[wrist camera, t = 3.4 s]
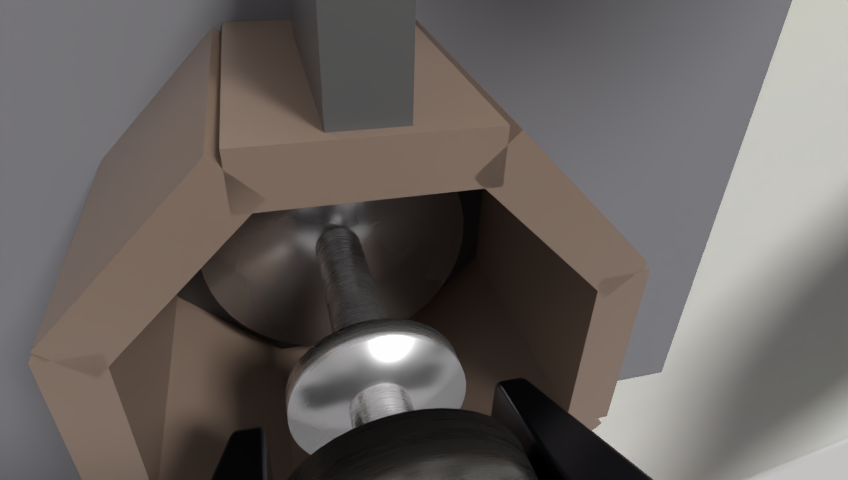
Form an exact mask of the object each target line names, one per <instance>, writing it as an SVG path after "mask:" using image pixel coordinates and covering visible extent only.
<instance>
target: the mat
mask: <svg viewBox="0 0 848 480" xmlns="http://www.w3.org/2000/svg"><path fill="white" fill-rule="evenodd" d="M791 2H792V0H416V17H415V20H417V21H418V22H419V23H420V24H421V25H422V26H423V27H424V28H425V29H426V30H427V31H428V32H429V33H430V34H431V35H432V36H433V37H434V39H435V40H436V41H437V42H438V43H439V44H440V45H441V46H442V47H443V48H444V49H445V50H446V51H447V52H448V53H449V54H450V55H451V56H452V57H453V58H454V59H455V60H456V61H457V62H458V63H459V64H460V65H461V66H462V67H463V68H464V70H465V71H466V72H467V73H468V74H469V75H470V76H471V77H472V78H473V79H474V80H475V81H476V82H477V83H478V84H479V85H480V86H481V87H482V88H483V89H484V90H485V91H486V92H487V93H488V94H489V95H490V96H491V97H492V98H493V99H494V100H495V102H496V103H497V104H498V105H499V106H500V107H501V108H502V109H503V110H504V111H505V112H506V113H507V114H508V115H509V116H510V117H511V118H512V119H513V120H514V121H515V122H516V123H517V124H518V125H519V126H520V127H521V128H522V129H523V130H524V132H525V133H526V134H527V135H528V136H529V137H530V138H531V139H532V140H533V141H534V142H535V143H536V144H537V145H538V146H539V147H540V148H541V150H542V151H543V152H544V153H545V154H546V155H547V156H548V157H549V158H550V159H551V160H552V161H553V162H554V163H555V164H556V165H557V166H558V168H559V169H560V170H561V171H562V172H563V173H564V174H565V175H566V176H567V177H568V178H569V179H570V180H571V181H572V182H573V183H574V184H575V185H576V187H577V188H578V189H579V190H580V191H581V192H582V193H583V194H584V195H585V196H586V197H587V198H588V199H589V200H590V201H591V202H592V203H593V205H594V206H595V207H596V208H597V209H598V210H599V211H600V212H601V213H602V214H603V215H604V216H605V217H606V218H607V219H608V220H609V221H610V223H611V224H612V225H613V226H614V227H615V228H616V229H617V230H618V231H619V232H620V233H621V234H622V235H623V236H624V237H625V238H626V239H627V241H628V242H629V243H630V244H631V245H632V246H633V247H634V248H635V249H636V250H637V251H638V252H639V253H640V254H641V255H642V256H643V257H644V259H645V260H646V261H647V262H648V263H647V264H646V265H645V267H646V268H647V269H648V270H649V271H650V272H649V275H648V279H647V282H646V286H645V289H644V292H643V296H642V299H641V302H640V306H639V309H638V312H637V316H636V319H635V322H634V326H633V329H632V332H631V336H630V339H629V343H628V346H627V349H626V353H625V356H624V359H623V363H622V366H621V369H620V373H619V376H618V379H617V381H618V380H623V379H628V378H634V377H639V376H644V375H649V374H654V373H659V372H661V371H662V368H663V366H664V363H665V360H666V357H667V354H668V351H669V349H670V346H671V343H672V340H673V337H674V334H675V332H676V329H677V326H678V323H679V320H680V317H681V314H682V312H683V309H684V306H685V303H686V300H687V297H688V295H689V292H690V289H691V286H692V283H693V280H694V278H695V275H696V272H697V269H698V266H699V263H700V260H701V258H702V255H703V252H704V249H705V246H706V243H707V241H708V238H709V235H710V232H711V229H712V226H713V224H714V221H715V218H716V215H717V212H718V209H719V206H720V204H721V201H722V198H723V195H724V192H725V189H726V187H727V184H728V181H729V178H730V175H731V172H732V170H733V167H734V164H735V161H736V158H737V155H738V153H739V150H740V147H741V144H742V141H743V138H744V135H745V133H746V130H747V127H748V124H749V121H750V118H751V116H752V113H753V110H754V107H755V104H756V101H757V99H758V96H759V93H760V90H761V87H762V84H763V81H764V79H765V76H766V73H767V70H768V67H769V64H770V62H771V59H772V56H773V53H774V50H775V47H776V45H777V42H778V39H779V36H780V33H781V30H782V27H783V25H784V22H785V19H786V16H787V13H788V10H789V8H790V5H791ZM269 20H291V9H290V0H0V480H82V479H81V477H80V475H79V473H78V471H77V468H76V466H75V464H74V462H73V460H72V458H71V455H70V453H69V451H68V449H67V447H66V445H65V443H64V440H63V438H62V436H61V434H60V432H59V430H58V428H57V425H56V423H55V421H54V419H53V417H52V415H51V412H50V410H49V408H48V406H47V404H46V402H45V400H44V397H43V395H42V393H41V391H40V389H39V387H38V384H37V382H36V380H35V378H34V376H33V374H32V372H31V369H30V367H29V365H28V363H29V360H30V358H31V355H32V353H30V352H31V349H32V346H33V343H34V341H35V338H36V335H37V333H38V330H39V327H40V325H41V322H42V319H43V317H44V314H45V311H46V308H47V306H48V303H49V300H50V298H51V295H52V292H53V290H54V287H55V284H56V281H57V279H58V276H59V273H60V271H61V268H62V265H63V263H64V260H65V257H66V254H67V252H68V249H69V246H70V244H71V241H72V238H73V236H74V233H75V230H76V227H77V225H78V222H79V219H80V217H81V214H82V211H83V209H84V206H85V203H86V200H87V198H88V195H89V192H90V190H91V187H92V184H93V182H94V179H95V176H96V173H97V171H98V168H99V165H100V163H101V160H102V159H103V158H104V157H105V155H106V154H107V153H108V152H109V151H110V149H111V148H112V147H113V146H114V145H115V143H116V142H117V141H118V140H119V138H120V137H121V136H122V135H123V134H124V132H125V131H126V130H127V129H128V128H129V126H130V125H131V124H132V123H133V122H134V120H135V119H136V118H137V117H138V116H139V114H140V113H141V112H142V111H143V110H144V108H145V107H146V106H147V105H148V104H149V102H150V101H151V100H152V99H153V98H154V96H155V95H156V94H157V93H158V92H159V90H160V89H161V88H162V87H163V85H164V84H165V83H166V82H167V81H168V79H169V78H170V77H171V76H172V75H173V73H174V72H175V71H176V70H177V69H178V67H179V66H180V65H181V64H182V63H183V61H184V60H185V59H186V58H187V57H188V55H189V54H190V53H191V52H192V51H193V49H194V48H195V47H196V46H197V45H198V43H199V42H200V41H201V40H202V39H203V37H204V36H205V35H206V34H207V32H208V31H209V30H210V29H211V28H212V27H213V28H214V29H216V30H217V31H218V32H219V33H220V34H222V22H240V21H269Z"/></svg>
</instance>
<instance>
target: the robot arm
mask: <svg viewBox="0 0 848 480" xmlns="http://www.w3.org/2000/svg"><path fill="white" fill-rule="evenodd" d="M491 417H493V418H495V419H497V420H499V421H500V422H502V423H503V424H505V425H506V426H508V427H509V428H510V429H511V430H512V431H513V432H514V433H515V434H516V436H517V437H518V439H519V441H520V442H521V444H522V446H523V448H524V450H525V453H526V455H527V457H528V459H529V461H530V463H531V465H532V467H533V469H534V471H535V474H536V476H537V478H538V480H653V479H652V478H650V477H649V476H648V475H647V474H645V473H644V472H643V471H642V470H640V469H639V468H638V467H637V466H635V465H634V464H633V463H631V462H630V461H629V460H628V459H626V458H625V457H624V456H623V455H621V454H620V453H619V452H618V451H616V450H615V449H614V448H613V447H611V446H610V445H609V444H608V443H606V442H605V441H604V440H602V439H601V438H600V437H599V436H597V435H596V434H595V433H594V432H592V431H591V430H590V429H589V428H587V427H586V426H585V425H584V424H582V423H581V422H580V421H579V420H577V419H576V418H575V417H573V416H572V415H571V414H570V413H568V412H567V411H566V410H565V409H563V408H562V407H561V406H560V405H558V404H557V403H556V402H555V401H553V400H552V399H551V398H550V397H548V396H547V395H546V394H544V393H543V392H542V391H541V390H539V389H538V388H537V387H536V386H534V385H533V384H532V383H531V382H529V381H528V380H526V379H524V378H515V379H509V380H504V381H500V382H498V383H497V384H496V386H495V389H494V397H493V404H492V411H491ZM210 480H273V472H272V465H271V459H270V454H269V448H268V442H267V437H266V432H265V429H264V428H263V427H261V426H256V427H251V428H245V429H240V430H236V431H234V432H233V433H232V434H231V435H230V437H229V439H228V441H227V443H226V445H225V448H224V450H223V452H222V454H221V457H220V459H219V461H218V463H217V466H216V468H215V470H214V472H213V475H212V477H211V479H210Z"/></svg>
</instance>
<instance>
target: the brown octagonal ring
mask: <svg viewBox="0 0 848 480" xmlns="http://www.w3.org/2000/svg"><path fill="white" fill-rule="evenodd" d="M290 9H291V20H269V21H240V22H222V34H220V33H219V32H218V31H217V30H216V29H214V28H213V27H212V28H211V29H210V30H209V31H208V32H207V34H206V35H205V36H204V37H203V39H202V40H201V41H200V42H199V43H198V45H197V46H196V47H195V48H194V49H193V51H192V52H191V53H190V54H189V55H188V57H187V58H186V59H185V60H184V61H183V63H182V64H181V65H180V66H179V67H178V69H177V70H176V71H175V72H174V73H173V75H172V76H171V77H170V78H169V79H168V81H167V82H166V83H165V84H164V85H163V87H162V88H161V89H160V90H159V92H158V93H157V94H156V95H155V96H154V98H153V99H152V100H151V101H150V102H149V104H148V105H147V106H146V107H145V108H144V110H143V111H142V112H141V113H140V114H139V116H138V117H137V118H136V119H135V120H134V122H133V123H132V124H131V125H130V126H129V128H128V129H127V130H126V131H125V132H124V134H123V135H122V136H121V137H120V138H119V140H118V141H117V142H116V143H115V145H114V146H113V147H112V148H111V149H110V151H109V152H108V153H107V154H106V155H105V157H104V158H103V159H102V160H101V163H100V165H99V168H98V171H97V173H96V176H95V179H94V182H93V184H92V187H91V190H90V192H89V195H88V198H87V200H86V203H85V206H84V209H83V211H82V214H81V217H80V219H79V222H78V225H77V227H76V230H75V233H74V236H73V238H72V241H71V244H70V246H69V249H68V252H67V254H66V257H65V260H64V263H63V265H62V268H61V271H60V273H59V276H58V279H57V281H56V284H55V287H54V290H53V292H52V295H51V298H50V300H49V303H48V306H47V308H46V311H45V314H44V317H43V319H42V322H41V325H40V327H39V330H38V333H37V335H36V338H35V341H34V343H33V346H32V349H31V352H30V353H32V355H31V358H30V360H29V363H28V365H29V367H30V369H31V372H32V374H33V376H34V378H35V380H36V382H37V384H38V387H39V389H40V391H41V393H42V395H43V397H44V400H45V402H46V404H47V406H48V408H49V410H50V412H51V415H52V417H53V419H54V421H55V423H56V425H57V428H58V430H59V432H60V434H61V436H62V438H63V440H64V443H65V445H66V447H67V449H68V451H69V453H70V455H71V458H72V460H73V462H74V464H75V466H76V468H77V471H78V473H79V475H80V477H81V479H82V480H210V479H211V477H212V475H213V472H214V470H215V468H216V466H217V463H218V461H219V459H220V457H221V454H222V452H223V450H224V448H225V445H226V443H227V441H228V439H229V437H230V435H231V434H232V433H233V432H234V431H236V430H240V429H245V428H251V427H256V426H261V427H263V428H264V429H265V432H266V437H267V442H268V448H269V454H270V459H271V465H272V472H273V480H287V479H288V478H289V476H290V475H291V474H292V472H293V471H294V470H295V469H296V468H297V467H298V466H299V465H300V464H301V463H302V462H303V461H304V460H305V459H306V458H308V457H309V456H310V455H311V454H309V453H308V452H306V451H305V450H304V449H302V448H301V447H300V446H299V445H298V444H297V442H296V441H295V440H294V438H293V436H292V434H291V432H290V429H289V425H288V418H287V408H286V395H285V392H286V386H287V382H288V379H289V376H290V374H291V372H292V370H293V368H294V366H295V365H296V364H297V362H298V361H299V359H300V358H301V357H302V356H303V355H304V354H305V353H306V352H307V351H308V350H309V349H310V348H311V347H312V346H308V345H297V344H292V343H287V342H282V341H278V340H275V339H272V338H269V337H266V336H264V335H262V334H259V333H257V332H255V331H253V330H251V329H249V328H248V327H246V326H244V325H243V324H241V323H240V322H238V321H237V320H236V319H235V318H233V317H232V316H231V315H230V314H229V313H228V312H227V311H226V310H225V309H224V308H223V307H222V306H221V305H220V304H219V303H218V301H217V300H216V299H215V297H214V296H213V294H212V293H211V291H210V289H209V287H208V285H207V283H206V281H205V279H204V276H203V273H202V270H201V268H202V267H203V266H204V265H205V263H206V262H207V261H208V260H209V259H210V258H211V257H212V256H213V255H214V254H215V253H216V252H217V251H218V250H219V249H220V247H221V246H222V245H223V244H224V243H225V242H226V241H227V240H228V239H229V238H230V237H231V236H232V235H233V234H234V233H235V231H236V230H237V229H238V228H239V227H240V226H241V225H242V224H243V223H244V222H245V221H246V220H247V219H248V218H249V217H250V216H251V214H252V213H260V212H269V211H279V210H288V209H298V208H307V207H316V206H326V205H335V204H345V203H354V202H363V201H373V200H382V199H392V198H401V197H410V196H420V195H429V194H439V193H448V192H458V195H459V198H460V202H461V205H462V212H463V237H462V244H461V248H460V251H459V255H458V258H457V260H456V263H455V265H454V267H453V269H452V272H451V273H450V275H449V277H448V278H447V280H446V281H445V283H444V284H443V286H442V287H441V288H440V290H439V291H438V292H437V293H436V295H435V296H434V297H433V298H432V299H431V300H430V301H429V302H428V303H427V304H426V305H425V306H424V307H423V308H421V309H420V310H419V311H418V312H416V313H415V314H414V315H413V316H411V317H410V318H408V319H409V320H413V321H418V322H421V323H423V324H426V325H429V326H430V327H432V328H434V329H436V330H437V331H439V332H440V333H441V334H443V335H444V336H445V337H446V338H447V339H448V340H449V342H450V343H451V345H452V346H453V348H454V350H455V353H456V355H457V357H458V360H459V362H460V364H461V367H462V369H463V372H464V374H465V379H466V392H465V397H464V400H463V403H462V406H461V408H460V409H464V410H470V411H475V412H478V413H482V414H485V415H488V416H490V417H491V411H492V404H493V397H494V389H495V386H496V384H497V383H498V382H500V381H504V380H509V379H515V378H524V379H526V380H528V381H529V382H531V383H532V384H533V385H534V386H536V387H537V388H538V389H539V390H541V391H542V392H543V393H544V394H546V395H547V396H548V397H550V398H551V399H552V400H553V401H555V402H556V403H557V404H558V405H560V406H561V407H562V408H563V409H565V410H566V411H567V412H568V413H570V414H571V415H572V416H573V417H575V418H576V419H577V420H579V421H580V422H581V423H582V424H584V425H585V426H586V427H587V428H589V429H590V430H591V431H592V430H593V429H594V428H596V427H597V426H598V425H599V424H601V422H600V420H599V419H598V418H600V417H605V416H607V413H608V410H609V406H610V403H611V400H612V396H613V393H614V390H615V386H616V383H617V379H618V376H619V373H620V369H621V366H622V363H623V359H624V356H625V353H626V349H627V346H628V343H629V339H630V336H631V332H632V329H633V326H634V322H635V319H636V316H637V312H638V309H639V306H640V302H641V299H642V296H643V292H644V289H645V286H646V282H647V279H648V275H649V272H650V271H649V270H648V269H647V268H646V267H645V265H646V264H647V263H648V262H647V261H646V260H645V259H644V257H643V256H642V255H641V254H640V253H639V252H638V251H637V250H636V249H635V248H634V247H633V246H632V245H631V244H630V243H629V242H628V241H627V239H626V238H625V237H624V236H623V235H622V234H621V233H620V232H619V231H618V230H617V229H616V228H615V227H614V226H613V225H612V224H611V223H610V221H609V220H608V219H607V218H606V217H605V216H604V215H603V214H602V213H601V212H600V211H599V210H598V209H597V208H596V207H595V206H594V205H593V203H592V202H591V201H590V200H589V199H588V198H587V197H586V196H585V195H584V194H583V193H582V192H581V191H580V190H579V189H578V188H577V187H576V185H575V184H574V183H573V182H572V181H571V180H570V179H569V178H568V177H567V176H566V175H565V174H564V173H563V172H562V171H561V170H560V169H559V168H558V166H557V165H556V164H555V163H554V162H553V161H552V160H551V159H550V158H549V157H548V156H547V155H546V154H545V153H544V152H543V151H542V150H541V148H540V147H539V146H538V145H537V144H536V143H535V142H534V141H533V140H532V139H531V138H530V137H529V136H528V135H527V134H526V133H525V132H524V130H523V129H522V128H521V127H520V126H519V125H518V124H517V123H516V122H515V121H514V120H513V119H512V118H511V117H510V116H509V115H508V114H507V113H506V112H505V111H504V110H503V109H502V108H501V107H500V106H499V105H498V104H497V103H496V102H495V100H494V99H493V98H492V97H491V96H490V95H489V94H488V93H487V92H486V91H485V90H484V89H483V88H482V87H481V86H480V85H479V84H478V83H477V82H476V81H475V80H474V79H473V78H472V77H471V76H470V75H469V74H468V73H467V72H466V71H465V70H464V68H463V67H462V66H461V65H460V64H459V63H458V62H457V61H456V60H455V59H454V58H453V57H452V56H451V55H450V54H449V53H448V52H447V51H446V50H445V49H444V48H443V47H442V46H441V45H440V44H439V43H438V42H437V41H436V40H435V39H434V37H433V36H432V35H431V34H430V33H429V32H428V31H427V30H426V29H425V28H424V27H423V26H422V25H421V24H420V23H419V22H418V21H417V20H415V17H416V0H290Z"/></svg>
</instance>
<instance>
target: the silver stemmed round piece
mask: <svg viewBox="0 0 848 480" xmlns="http://www.w3.org/2000/svg"><path fill="white" fill-rule="evenodd" d="M462 237H463V212H462V205H461V202H460V198H459V195H458V192H448V193H439V194H429V195H420V196H410V197H401V198H392V199H382V200H373V201H363V202H354V203H345V204H335V205H326V206H316V207H307V208H298V209H288V210H279V211H269V212H260V213H252V214H251V216H250V217H249V218H248V219H247V220H246V221H245V222H244V223H243V224H242V225H241V226H240V227H239V228H238V229H237V230H236V231H235V233H234V234H233V235H232V236H231V237H230V238H229V239H228V240H227V241H226V242H225V243H224V244H223V245H222V246H221V247H220V249H219V250H218V251H217V252H216V253H215V254H214V255H213V256H212V257H211V258H210V259H209V260H208V261H207V262H206V263H205V265H204V266H203V267H202V268H201V270H202V273H203V276H204V279H205V281H206V283H207V285H208V287H209V289H210V291H211V293H212V294H213V296H214V297H215V299H216V300H217V301H218V303H219V304H220V305H221V306H222V307H223V308H224V309H225V310H226V311H227V312H228V313H229V314H230V315H231V316H232V317H233V318H235V319H236V320H237V321H238V322H240V323H241V324H243V325H244V326H246V327H248V328H249V329H251V330H253V331H255V332H257V333H259V334H262V335H264V336H266V337H269V338H272V339H275V340H278V341H282V342H287V343H292V344H297V345H308V346H312V347H311V348H310V349H309V350H308V351H307V352H306V353H305V354H304V355H303V356H302V357H301V358H300V359H299V361H298V362H297V364H296V365H295V366H294V368H293V370H292V372H291V374H290V376H289V379H288V382H287V386H286V392H285V395H286V408H287V418H288V425H289V429H290V432H291V434H292V436H293V438H294V440H295V441H296V442H297V444H298V445H299V446H300V447H301V448H302V449H304V450H305V451H306V452H308V453H309V454H311V455H310V456H309V457H308V458H306V459H305V460H304V461H303V462H302V463H301V464H300V465H299V466H298V467H297V468H296V469H295V470H294V471H293V472H292V474H291V475H290V476H289V478H288V479H287V480H538V478H537V476H536V474H535V471H534V469H533V467H532V465H531V463H530V461H529V459H528V457H527V455H526V453H525V450H524V448H523V446H522V444H521V442H520V441H519V439H518V437H517V436H516V434H515V433H514V432H513V431H512V430H511V429H510V428H509V427H508V426H506V425H505V424H503V423H502V422H500V421H499V420H497V419H495V418H493V417H490V416H488V415H485V414H482V413H478V412H475V411H470V410H464V409H460V408H461V406H462V403H463V400H464V397H465V392H466V379H465V374H464V372H463V369H462V367H461V364H460V362H459V360H458V357H457V355H456V353H455V350H454V348H453V346H452V345H451V343H450V342H449V340H448V339H447V338H446V337H445V336H444V335H443V334H441V333H440V332H439V331H437V330H436V329H434V328H432V327H430V326H429V325H426V324H423V323H421V322H418V321H413V320H409V319H408V318H410V317H411V316H413V315H414V314H415V313H416V312H418V311H419V310H420V309H421V308H423V307H424V306H425V305H426V304H427V303H428V302H429V301H430V300H431V299H432V298H433V297H434V296H435V295H436V293H437V292H438V291H439V290H440V288H441V287H442V286H443V284H444V283H445V281H446V280H447V278H448V277H449V275H450V273H451V272H452V269H453V267H454V265H455V263H456V260H457V258H458V255H459V251H460V248H461V244H462Z"/></svg>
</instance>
